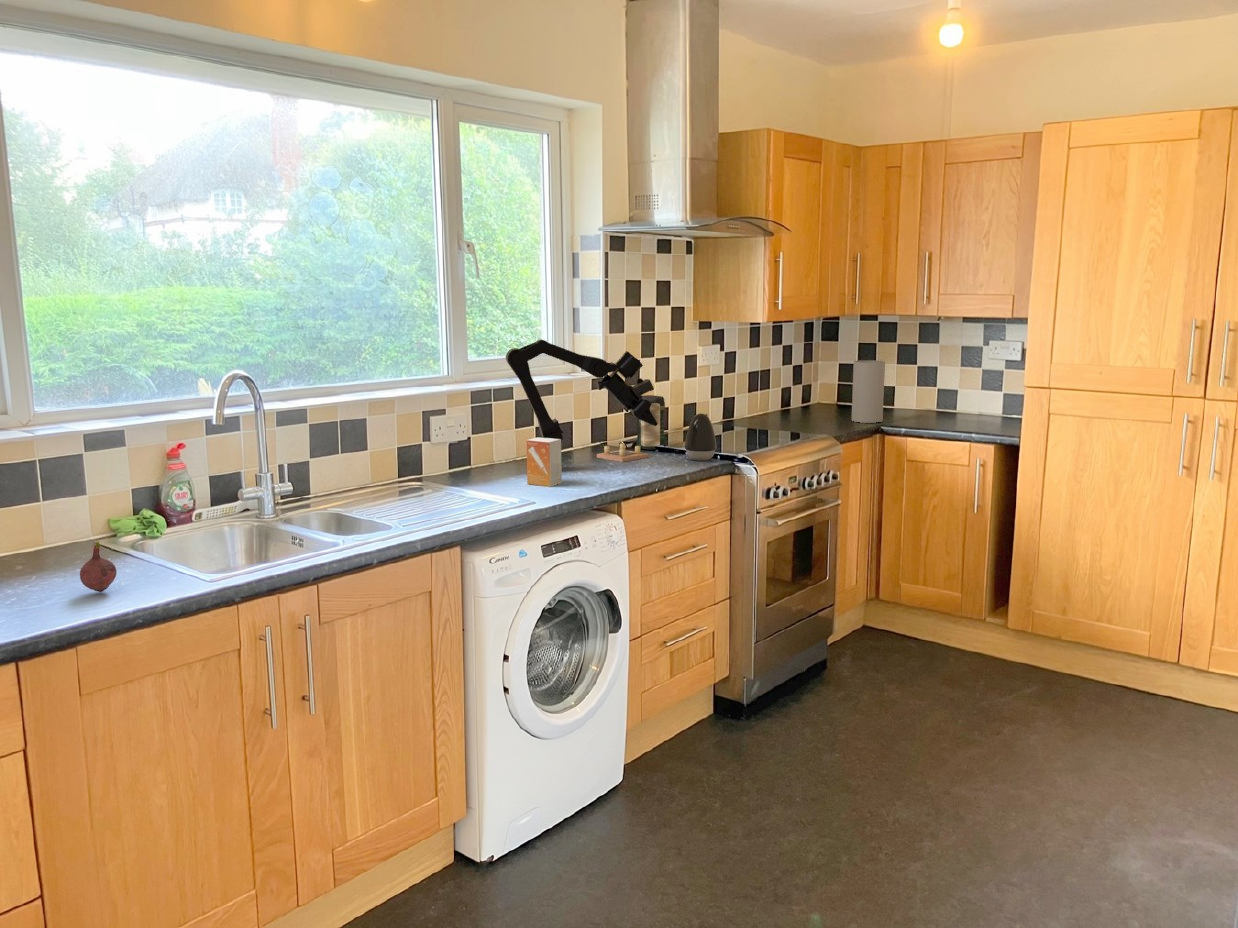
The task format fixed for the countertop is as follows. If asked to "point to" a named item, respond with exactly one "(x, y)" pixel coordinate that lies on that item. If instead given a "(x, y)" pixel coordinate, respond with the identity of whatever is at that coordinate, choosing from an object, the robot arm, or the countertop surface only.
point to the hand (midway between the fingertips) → (654, 423)
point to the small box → (544, 461)
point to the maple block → (651, 428)
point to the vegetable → (97, 572)
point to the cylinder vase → (868, 391)
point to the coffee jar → (662, 406)
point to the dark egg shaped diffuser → (700, 438)
